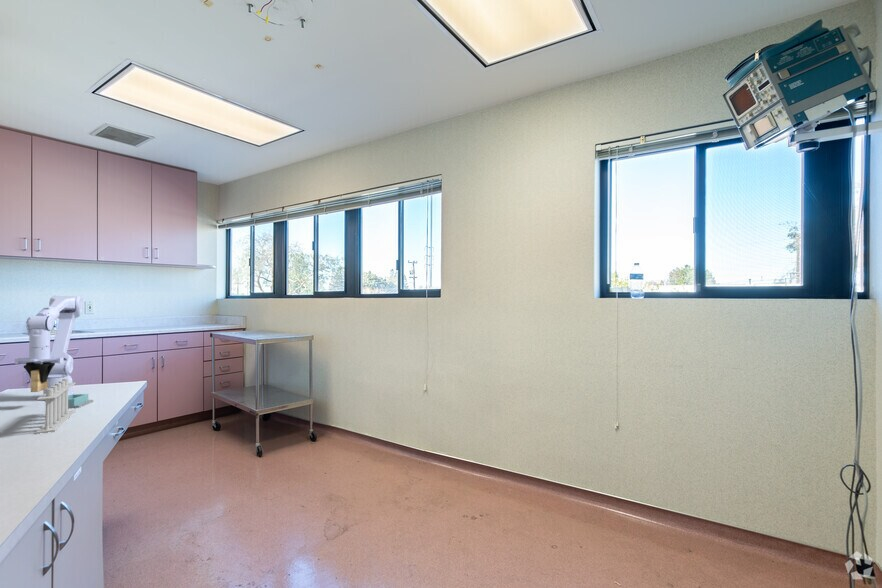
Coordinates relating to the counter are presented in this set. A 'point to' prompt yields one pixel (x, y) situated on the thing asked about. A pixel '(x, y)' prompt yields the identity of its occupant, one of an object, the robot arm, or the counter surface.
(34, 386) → the plank
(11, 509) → the counter surface
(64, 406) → the test tube rack
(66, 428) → the counter surface
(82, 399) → the stand
